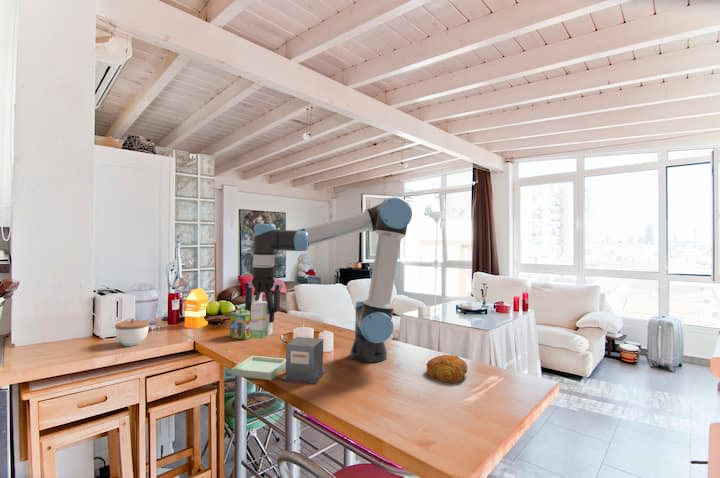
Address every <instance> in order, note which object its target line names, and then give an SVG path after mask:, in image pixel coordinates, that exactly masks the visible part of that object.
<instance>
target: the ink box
mask: <svg viewBox="0 0 720 478" xmlns="http://www.w3.org/2000/svg"><path fill="white" fill-rule="evenodd" d="M255 298H256V295H254V294H253V295H252V302H251V321H250V338H249V339H251V338H252V339H264V338H265V337H267V336H270V335H272V334H273V330H272V331H270V332H266V327H267V314H268V313H269V310H268V305H267V300H266V301H263V292H261V294H260V297H259V300H258V301H255ZM273 303H274V301H273ZM273 323H274V322H272V329H273V325H274V324H273Z"/></svg>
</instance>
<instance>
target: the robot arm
mask: <svg viewBox="0 0 720 478" xmlns="http://www.w3.org/2000/svg"><path fill="white" fill-rule="evenodd" d="M412 217H413V210H412V207H411V205H410V204H409V202H408V201H406V200H405V199H404V198H401V197H397V196H396V197H388V198H386V199H385V200H383V201H382V202H380V203H379V204H377V205H375V206H372V207H371V208H370V207H369V208H367V209H364V211H363V212H360V213H358V214H354V215H350V216H347V217H342V218H338V219H335V220H330V221H326V222H323V223H319V224H316V225H315V224H314V225H312V226H308V227H305V228H301V229H296V230H292V229H291V230H290V229H286V230H285V229H284V230H283V229H277V227H276V225H275V224H272V223H257V224H255V226H254V233H253V234H254V235H253V255H252V257H253V259H252V265H253V267H252V280H251V281H250V282H245V283H244V287H245V299H244V300H245V302H244V303H245V304H244V306H245V310H246V311H247V312H250V321H251V302H252V296H254V295H256V298H255V301H258V300H259V297H260V294H261V293H264V294H263V295H264V297H265V300H266V302H267V305H268V310H269V313H268V314H267V327H266V332H270V331H272V332H273V328H272V322H273V323H274V322H275V313H277V312H279V311H280V309H281V307H280V305H281V290H282V286H283V285H282V284H281V283H277V282H275V267H274V266H275V256H276V254H275V253H276V251H284V252H285V251H286V252H287V251H288V252H307V251H308V249H309V247H311V246H315V245H319V244H322V243H327V242H330V241H333V240H334V241H335V240H337V239H340V238H341V239H342V238H345V237H349V236H352V235H357V234H360V233H363V232H367V231H369V232H371V233H373V232H375V233H376V234H377V242H376V249H375V256H374V262H373V266H372V267H373V268H372V273H371V281H370V285H369V291H368V297H367V299H365V300H358V301H356V303H355V309H354V310H355V324H354V325H355V327H354V339H353V342H352V345H351V348H350V350H349V353H350V355H349V356H350V358H351V359H352V360H354V361H356V362H361V363H362V362H363V363H377V362H382V361H385V360H386V359H387V358H388V352H387V348H386V345H385V342H386V341H387V340H388V339H389V338H390V337H391V336H392V335H393V331H394V321H393V313H394V308H395V307H394V305H393V304H392V302H391V301H392V296H393V288H394V282H395V276H396V271H397V265H398V259H399V253H400V247H401V242H402V239H403V238H405V237H406V234H407V230H408V229H407V228H408V225H409V224H410V222H411V220H412ZM253 288H254V292H253ZM272 289H274V290H273V291H272ZM273 302H274V303H273Z"/></svg>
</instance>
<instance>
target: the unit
mask: <svg viewBox="0 0 720 478" xmlns="http://www.w3.org/2000/svg"><path fill="white" fill-rule="evenodd" d="M285 359H286V368H285V375H283V376H282V377H281V382H290V383H291V382H292V383H299V384H310V385H316V384H317V383H318V382H319V381H320V380H321V378H322V377H323V376H324V375H325V373H326V372H327V369H325V368H323V365H324V362H323V361H324V338H316V337H315V338H313V337H306V336H305V337H304V336H303V337H302V336H296V337H295V338H293V339H291V341H289V342H288V343H286V346H285Z"/></svg>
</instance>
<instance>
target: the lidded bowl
mask: <svg viewBox="0 0 720 478" xmlns="http://www.w3.org/2000/svg"><path fill="white" fill-rule="evenodd" d="M149 326H150V322H149V320H145V319H135V318H131V319H130V320H125V321H120V322H117V323H116V324H115V326H114V327H115V337H116V340H117V341H118V342H119V343H120V344H121V345H122V346H123V347H133V346H139V345H141V344H142V342H143V341H145V339H146V338H147V336H148V335H149V334H148V333H149V329H150V327H149ZM138 344H139V345H138Z"/></svg>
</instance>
